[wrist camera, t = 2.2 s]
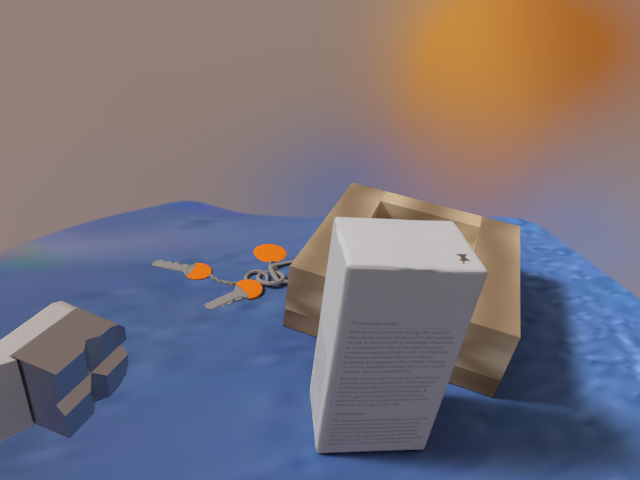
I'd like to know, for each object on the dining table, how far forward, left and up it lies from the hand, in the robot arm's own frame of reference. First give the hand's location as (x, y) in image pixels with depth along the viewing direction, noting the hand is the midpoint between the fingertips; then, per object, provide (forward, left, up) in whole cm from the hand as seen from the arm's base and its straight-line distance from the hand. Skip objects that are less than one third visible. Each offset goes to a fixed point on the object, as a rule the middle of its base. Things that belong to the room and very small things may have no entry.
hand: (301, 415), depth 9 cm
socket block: (0, -24, -15) cm, 28 cm away
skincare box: (0, -12, -15) cm, 19 cm away
